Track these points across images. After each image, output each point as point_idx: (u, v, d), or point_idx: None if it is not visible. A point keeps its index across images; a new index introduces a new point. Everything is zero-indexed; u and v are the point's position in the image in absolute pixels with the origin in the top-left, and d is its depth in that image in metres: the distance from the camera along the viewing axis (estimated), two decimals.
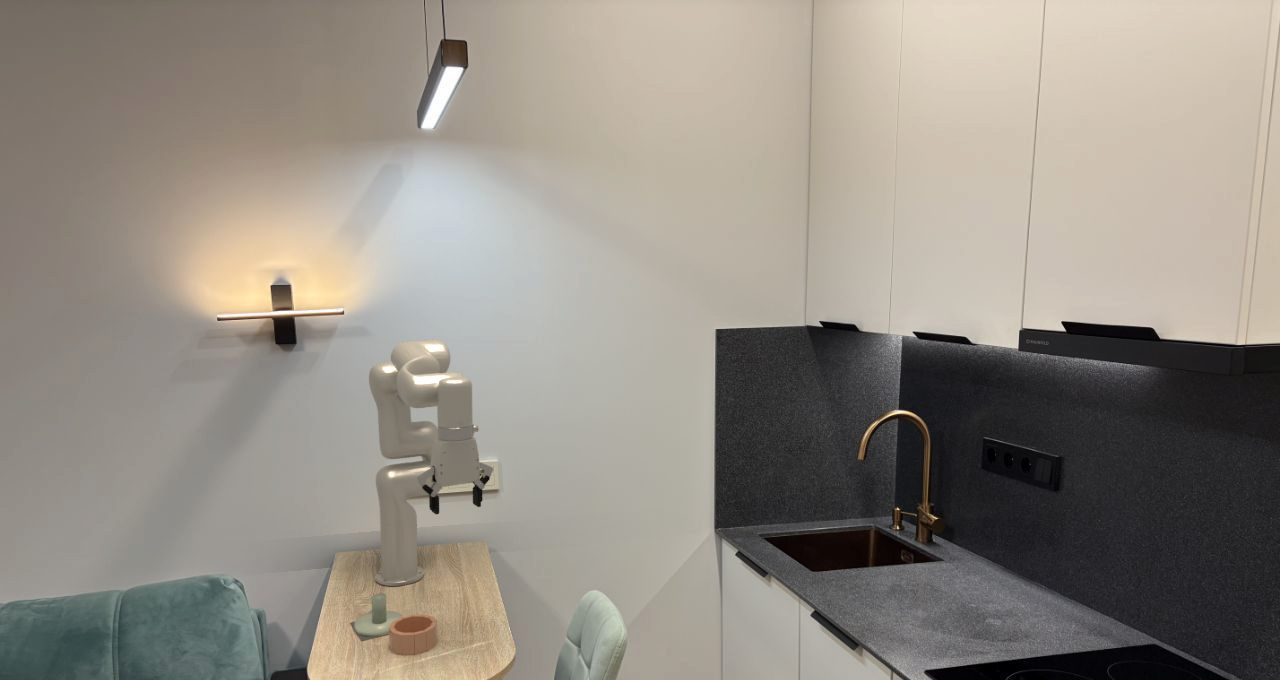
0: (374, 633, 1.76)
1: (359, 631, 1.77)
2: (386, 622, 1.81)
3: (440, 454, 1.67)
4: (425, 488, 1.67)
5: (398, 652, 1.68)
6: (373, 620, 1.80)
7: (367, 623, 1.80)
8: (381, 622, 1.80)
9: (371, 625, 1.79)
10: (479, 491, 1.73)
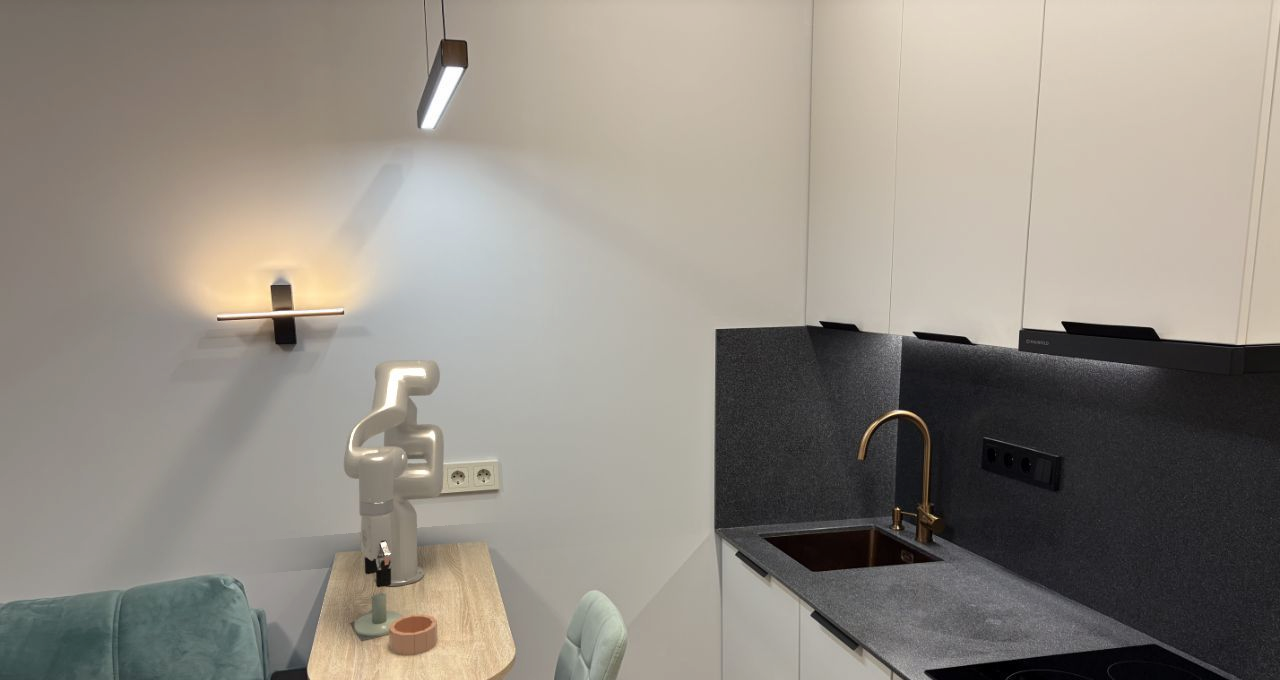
0: (374, 633, 1.76)
1: (359, 631, 1.77)
2: (386, 622, 1.81)
3: (390, 526, 1.77)
4: (390, 562, 1.74)
5: (398, 652, 1.68)
6: (373, 620, 1.80)
7: (367, 623, 1.80)
8: (381, 622, 1.80)
9: (371, 625, 1.79)
10: None
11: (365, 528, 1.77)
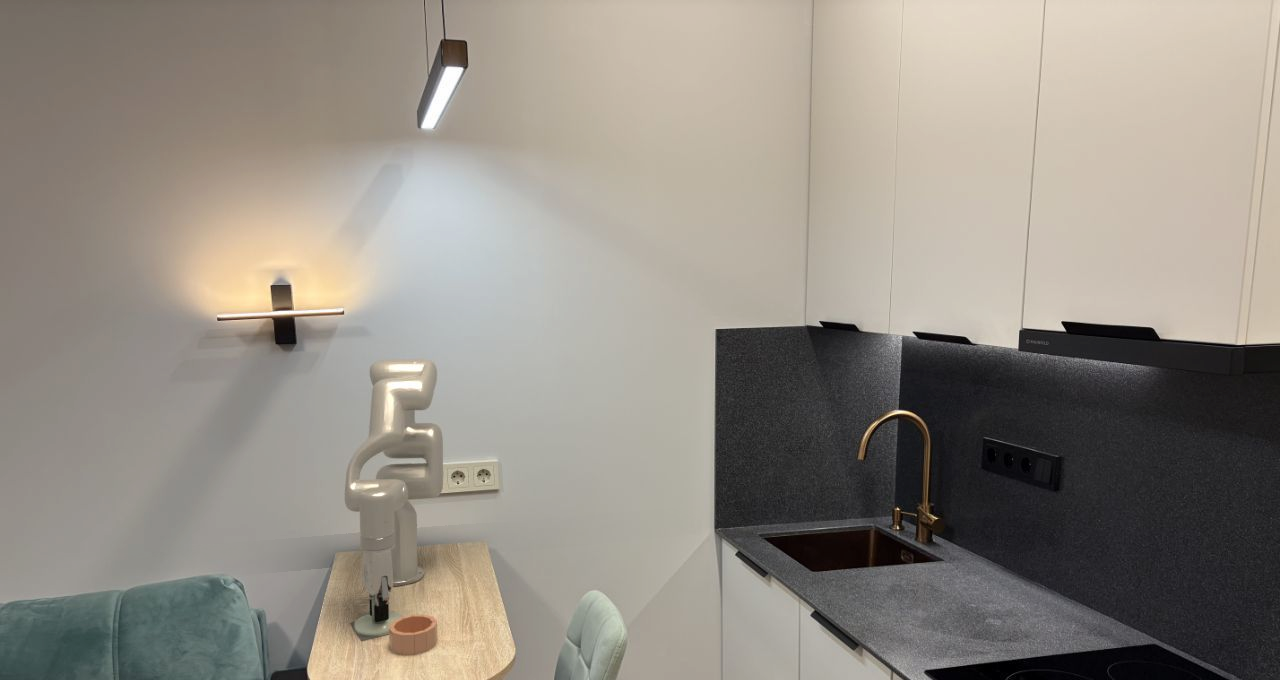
0: (374, 633, 1.76)
1: (359, 631, 1.77)
2: (386, 622, 1.81)
3: (391, 561, 1.78)
4: None
5: (398, 652, 1.68)
6: (373, 620, 1.80)
7: (367, 623, 1.80)
8: (381, 622, 1.80)
9: (371, 625, 1.79)
10: None
11: (366, 563, 1.78)
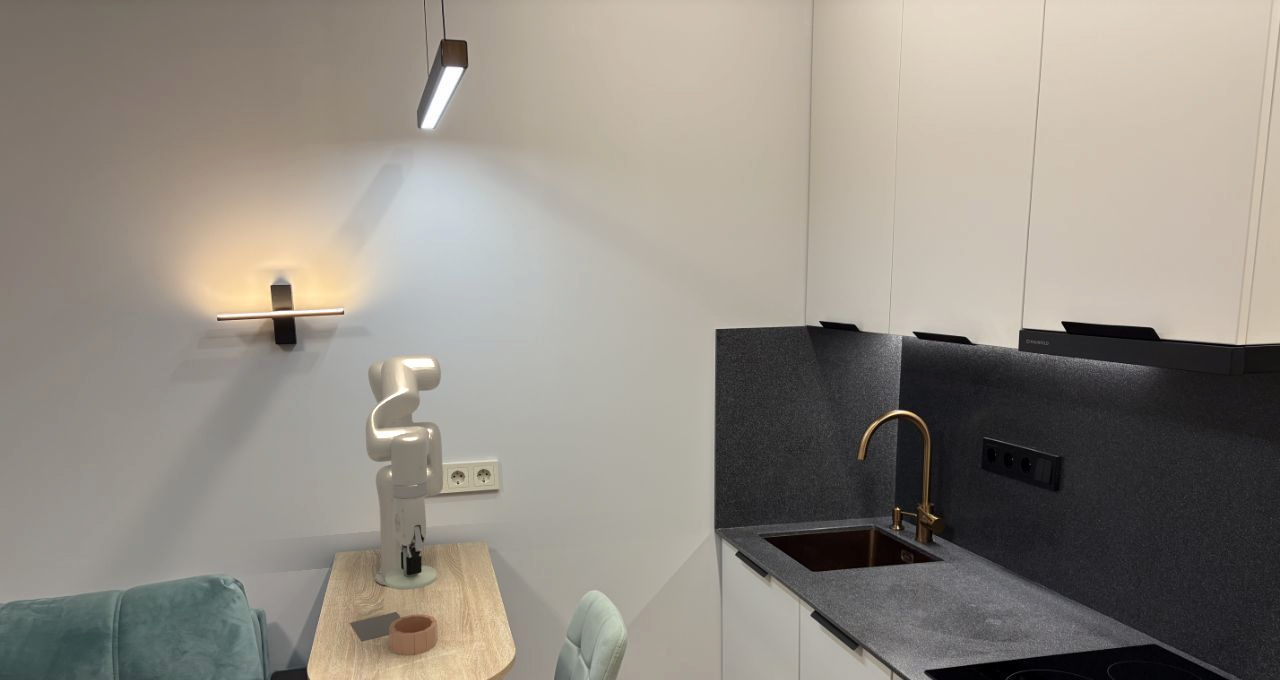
0: (406, 586, 1.66)
1: (390, 584, 1.67)
2: (419, 575, 1.71)
3: (424, 510, 1.68)
4: None
5: (398, 652, 1.68)
6: (405, 573, 1.70)
7: (398, 576, 1.70)
8: (413, 575, 1.70)
9: (403, 578, 1.69)
10: None
11: (398, 512, 1.68)
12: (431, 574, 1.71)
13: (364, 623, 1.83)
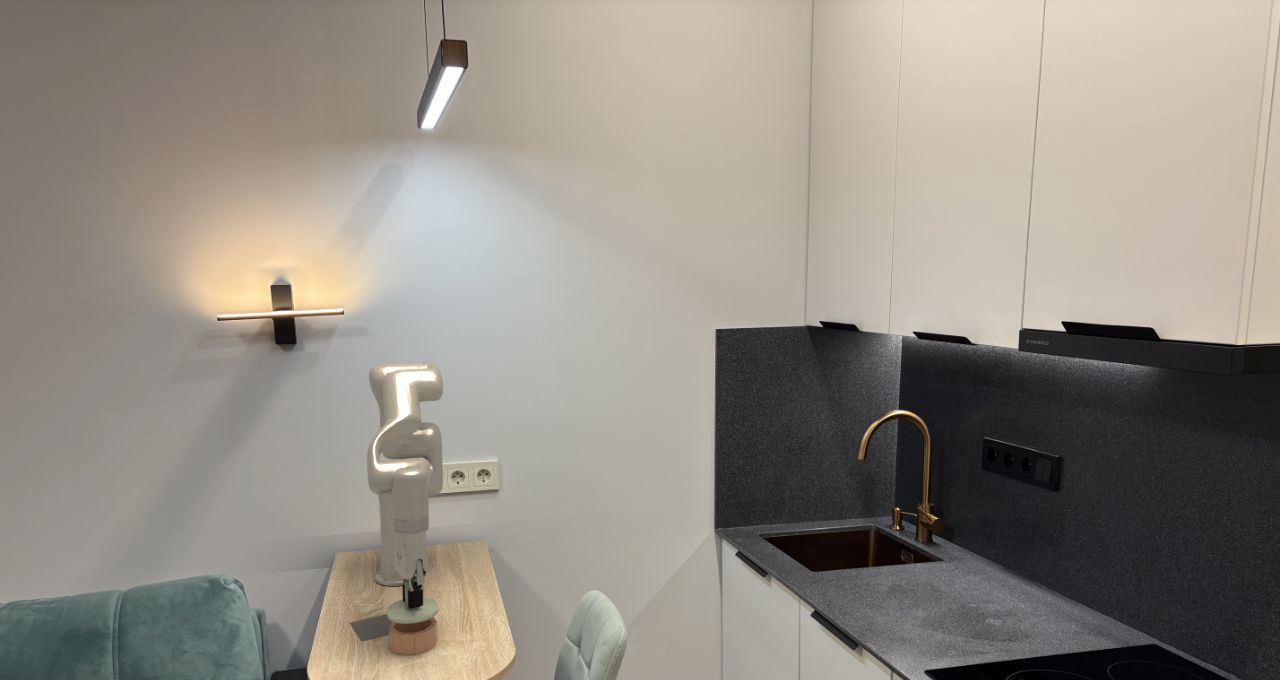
0: (408, 620, 1.67)
1: (392, 617, 1.67)
2: (420, 608, 1.71)
3: (426, 543, 1.68)
4: None
5: (398, 652, 1.68)
6: (406, 606, 1.71)
7: (400, 610, 1.71)
8: (415, 608, 1.71)
9: (404, 611, 1.70)
10: None
11: (400, 546, 1.69)
12: (433, 607, 1.72)
13: (364, 623, 1.83)
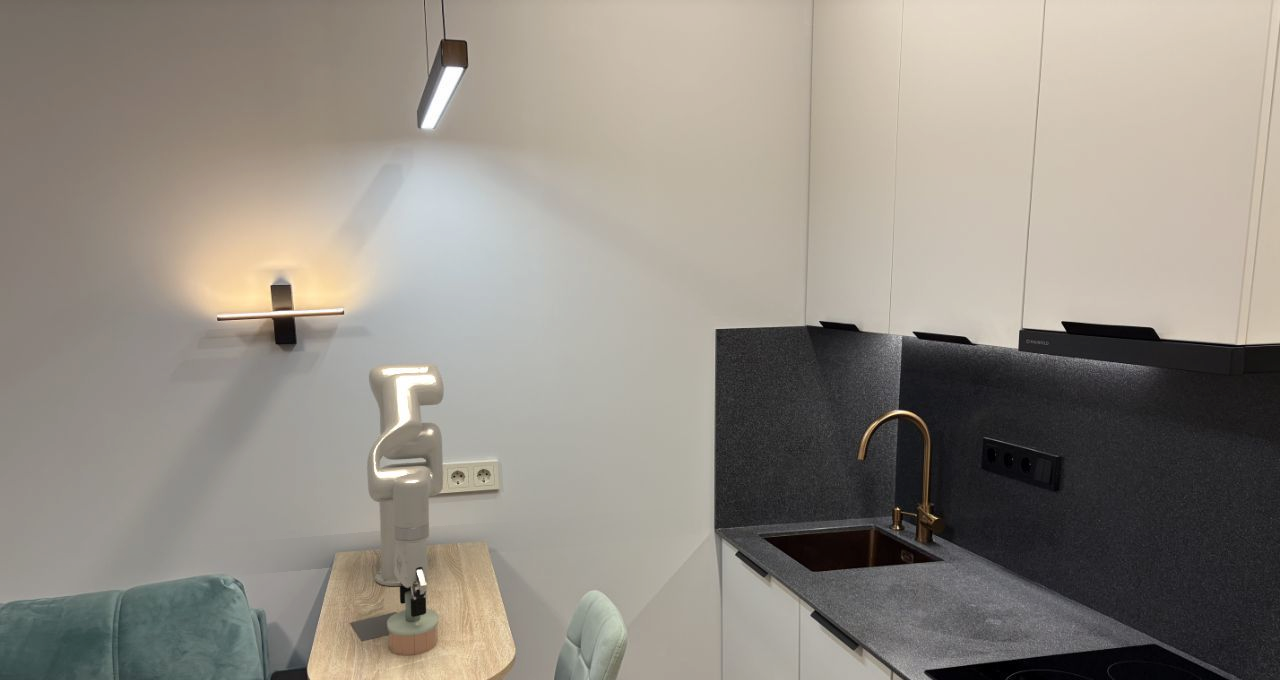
0: (408, 632, 1.67)
1: (392, 630, 1.68)
2: (420, 620, 1.72)
3: (426, 551, 1.69)
4: (425, 591, 1.67)
5: (398, 652, 1.68)
6: (406, 618, 1.71)
7: (400, 621, 1.71)
8: (415, 620, 1.71)
9: (405, 623, 1.70)
10: None
11: (400, 554, 1.69)
12: (433, 619, 1.72)
13: (364, 623, 1.83)
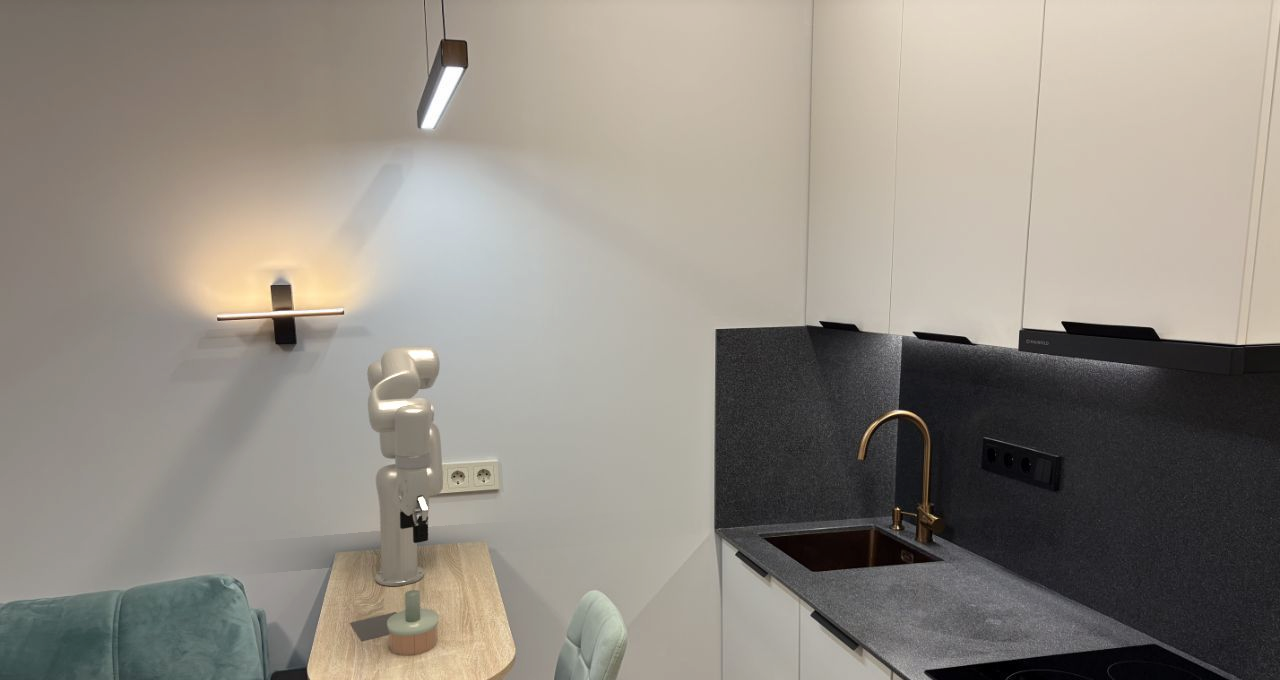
0: (408, 632, 1.67)
1: (392, 630, 1.68)
2: (420, 620, 1.72)
3: (427, 480, 1.70)
4: (427, 517, 1.68)
5: (398, 652, 1.68)
6: (406, 618, 1.71)
7: (400, 621, 1.71)
8: (415, 620, 1.71)
9: (405, 623, 1.70)
10: None
11: (401, 482, 1.70)
12: (433, 619, 1.72)
13: (364, 623, 1.83)
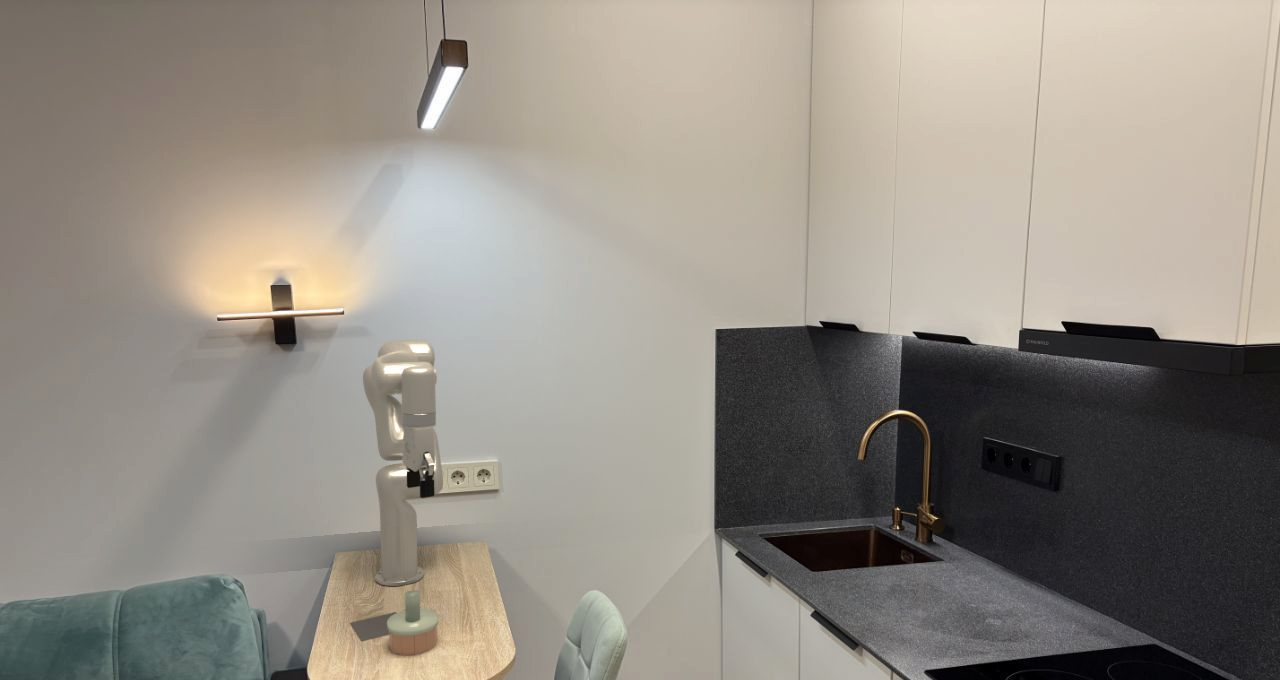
0: (408, 632, 1.67)
1: (392, 630, 1.68)
2: (420, 620, 1.72)
3: (433, 438, 1.77)
4: (434, 472, 1.74)
5: (398, 652, 1.68)
6: (406, 618, 1.71)
7: (400, 621, 1.71)
8: (415, 620, 1.71)
9: (405, 623, 1.70)
10: None
11: (408, 440, 1.77)
12: (433, 619, 1.72)
13: (364, 623, 1.83)
